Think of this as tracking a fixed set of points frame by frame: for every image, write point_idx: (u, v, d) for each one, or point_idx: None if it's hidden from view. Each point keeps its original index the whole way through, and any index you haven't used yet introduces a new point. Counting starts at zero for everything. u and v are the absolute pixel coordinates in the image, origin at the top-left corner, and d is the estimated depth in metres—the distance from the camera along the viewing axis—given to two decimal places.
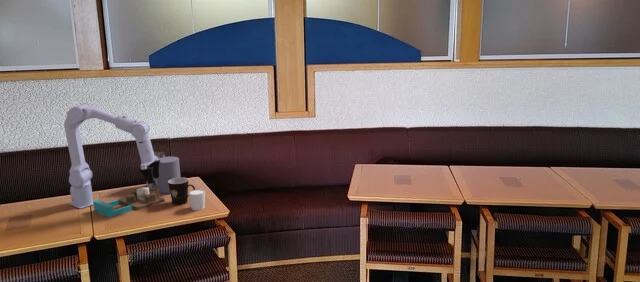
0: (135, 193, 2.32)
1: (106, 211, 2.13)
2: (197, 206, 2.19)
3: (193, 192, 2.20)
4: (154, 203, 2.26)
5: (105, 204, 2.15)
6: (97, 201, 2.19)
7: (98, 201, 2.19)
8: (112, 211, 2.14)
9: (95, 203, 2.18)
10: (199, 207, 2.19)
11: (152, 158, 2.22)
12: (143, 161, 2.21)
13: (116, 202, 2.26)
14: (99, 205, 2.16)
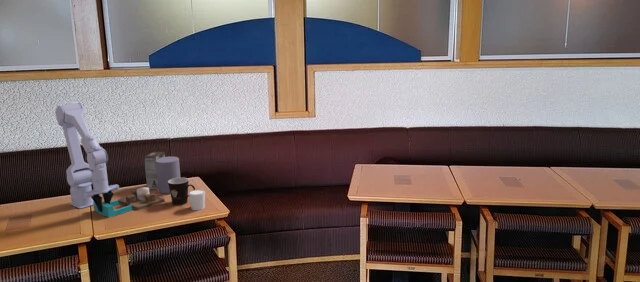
0: (135, 193, 2.32)
1: (106, 211, 2.13)
2: (197, 206, 2.19)
3: (193, 192, 2.20)
4: (154, 203, 2.26)
5: (105, 204, 2.15)
6: None
7: None
8: (112, 211, 2.14)
9: None
10: (199, 207, 2.19)
11: (100, 189, 2.12)
12: (93, 189, 2.14)
13: (116, 202, 2.26)
14: None
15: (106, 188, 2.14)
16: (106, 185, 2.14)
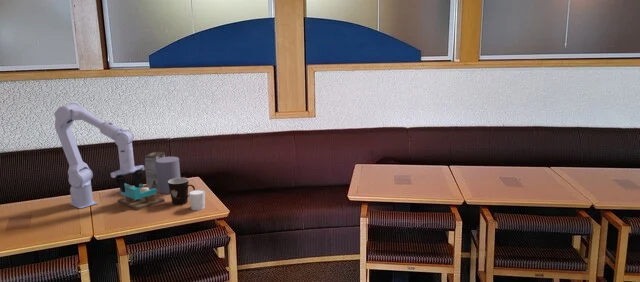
0: None
1: (133, 193, 2.22)
2: (197, 206, 2.19)
3: (193, 192, 2.20)
4: (154, 203, 2.26)
5: (131, 187, 2.24)
6: None
7: None
8: (138, 194, 2.22)
9: None
10: (199, 207, 2.19)
11: (127, 169, 2.20)
12: (120, 169, 2.22)
13: (141, 186, 2.35)
14: (126, 188, 2.25)
15: (132, 168, 2.22)
16: (132, 165, 2.22)
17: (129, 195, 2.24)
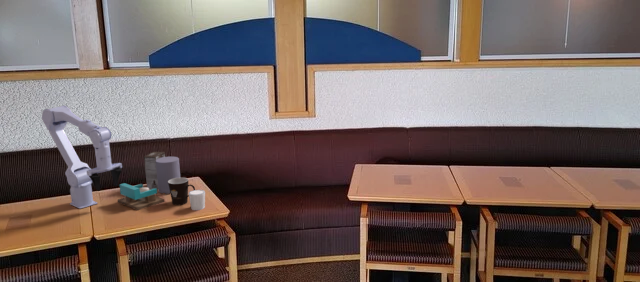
0: None
1: (133, 193, 2.22)
2: (197, 206, 2.19)
3: (193, 192, 2.20)
4: (154, 203, 2.26)
5: (131, 187, 2.24)
6: (123, 184, 2.27)
7: (124, 184, 2.27)
8: (138, 194, 2.22)
9: (121, 186, 2.27)
10: (199, 207, 2.19)
11: (104, 166, 2.15)
12: (97, 166, 2.17)
13: (141, 186, 2.35)
14: (126, 188, 2.25)
15: (109, 166, 2.17)
16: (109, 163, 2.17)
17: (129, 195, 2.24)
